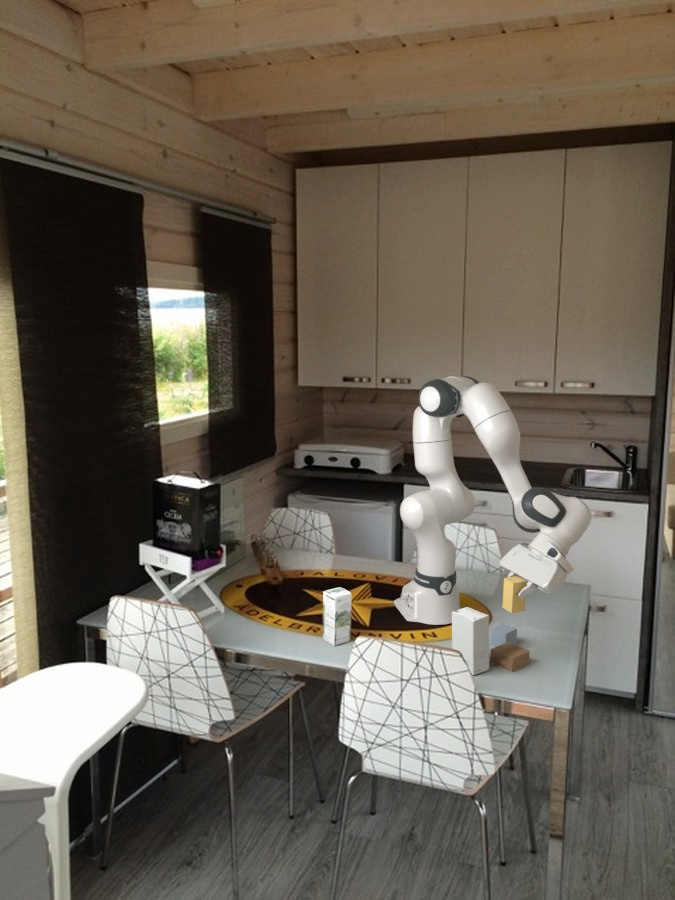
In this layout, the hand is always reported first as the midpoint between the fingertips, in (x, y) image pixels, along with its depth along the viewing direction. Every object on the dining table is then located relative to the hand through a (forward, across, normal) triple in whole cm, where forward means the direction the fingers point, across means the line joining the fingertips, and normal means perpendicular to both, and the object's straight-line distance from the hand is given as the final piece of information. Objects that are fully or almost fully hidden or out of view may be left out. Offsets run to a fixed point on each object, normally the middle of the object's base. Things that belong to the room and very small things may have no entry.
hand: (512, 593), depth 206 cm
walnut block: (+14, 0, +14) cm, 19 cm away
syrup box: (+39, -30, -11) cm, 51 cm away
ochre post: (+3, 0, +4) cm, 4 cm away
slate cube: (+10, -10, +17) cm, 22 cm away
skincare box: (+21, -2, +6) cm, 22 cm away
